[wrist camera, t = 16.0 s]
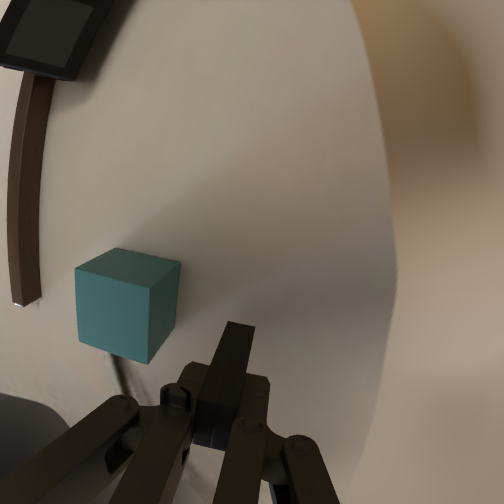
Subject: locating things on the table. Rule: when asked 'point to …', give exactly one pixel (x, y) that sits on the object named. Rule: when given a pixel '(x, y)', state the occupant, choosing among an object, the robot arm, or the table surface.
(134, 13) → the table surface
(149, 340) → the teal block
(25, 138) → the rail
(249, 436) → the robot arm
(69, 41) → the digital camera
